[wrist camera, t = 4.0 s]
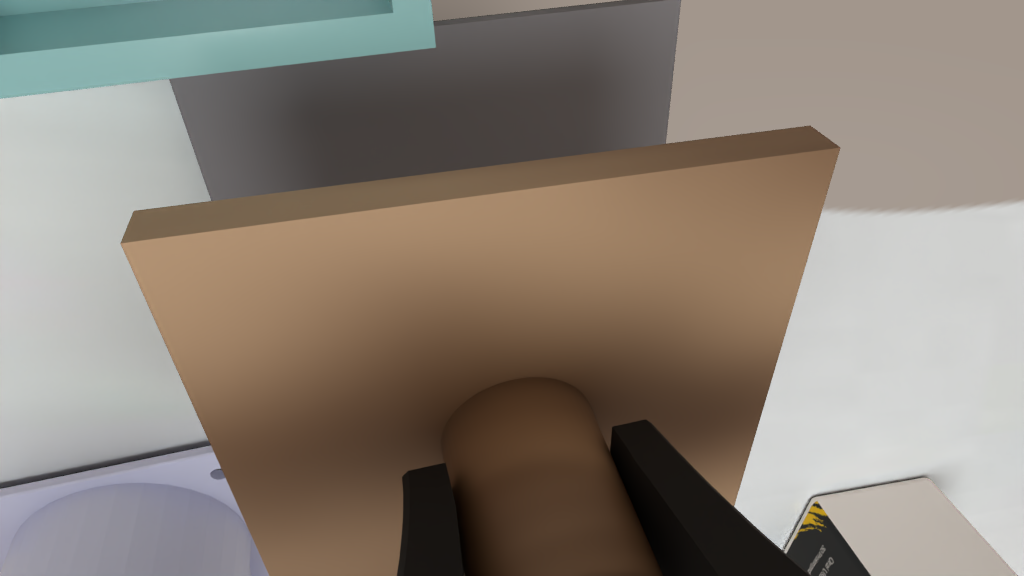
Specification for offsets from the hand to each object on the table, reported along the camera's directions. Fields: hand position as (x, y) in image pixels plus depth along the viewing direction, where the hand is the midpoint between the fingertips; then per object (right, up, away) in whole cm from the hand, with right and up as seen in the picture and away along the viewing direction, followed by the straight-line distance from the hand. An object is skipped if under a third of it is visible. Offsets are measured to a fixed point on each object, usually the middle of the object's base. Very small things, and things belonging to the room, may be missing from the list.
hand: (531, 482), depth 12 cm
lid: (0, +1, +1) cm, 2 cm away
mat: (-2, +5, +8) cm, 9 cm away
